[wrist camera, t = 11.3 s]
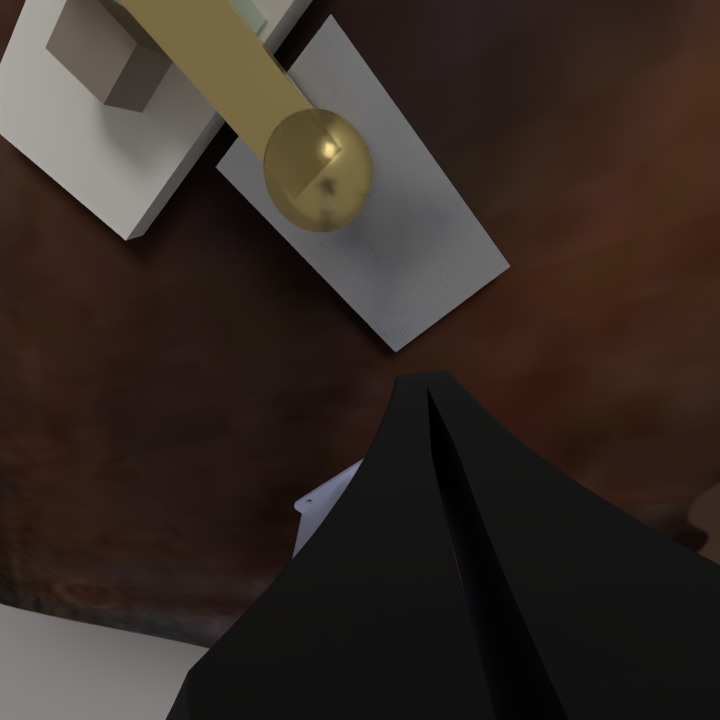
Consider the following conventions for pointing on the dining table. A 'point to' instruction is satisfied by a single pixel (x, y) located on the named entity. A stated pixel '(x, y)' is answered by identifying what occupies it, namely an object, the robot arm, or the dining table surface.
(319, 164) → the latch arm
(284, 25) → the door board
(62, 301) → the dining table surface
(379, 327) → the plate
